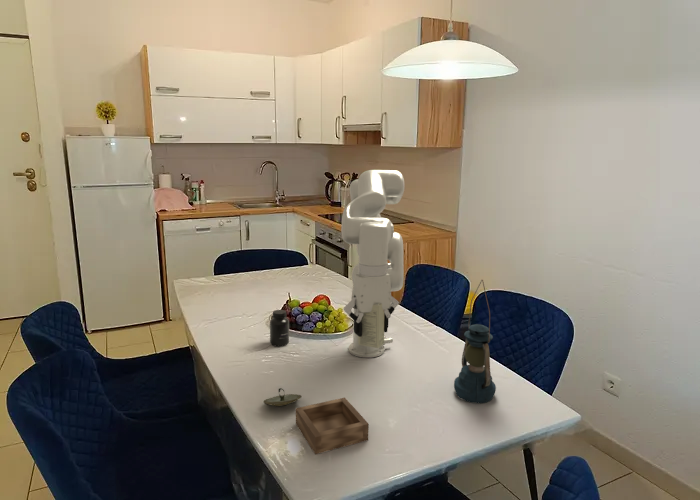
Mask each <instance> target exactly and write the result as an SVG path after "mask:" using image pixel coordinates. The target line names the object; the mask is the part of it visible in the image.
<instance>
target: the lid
mask: <svg viewBox="0 0 700 500" xmlns="http://www.w3.org/2000/svg"><path fill="white" fill-rule="evenodd" d="M281 391H282V392H285V389H283V388H282V387H280V388H278V395H275V396H272V397H268V398H266V399H264V400H263V403H264V404H266V405H269V406H273V407H283V406H284V407H285V406H286V405H289V404H292V403H294V402H296V401H298V400H300V399H302V395H301V394H296V393H294V394H293V393H289V394H281V393H280V392H281Z"/></svg>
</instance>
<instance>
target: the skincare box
mask: <svg viewBox="0 0 700 500" xmlns="http://www.w3.org/2000/svg"><path fill="white" fill-rule="evenodd" d="M358 314H359V313H358ZM361 322H362V336H361V337H359V336H358V344H359V345H364V346H369V347H375V348H379V347H380V346H381V345H382V344H383V343H384V336H385V332H384V310H383V309H382V303H378V304H374V305H373V307H372V311H371V312H368V313H364V315H363V317H362V319H361Z"/></svg>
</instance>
